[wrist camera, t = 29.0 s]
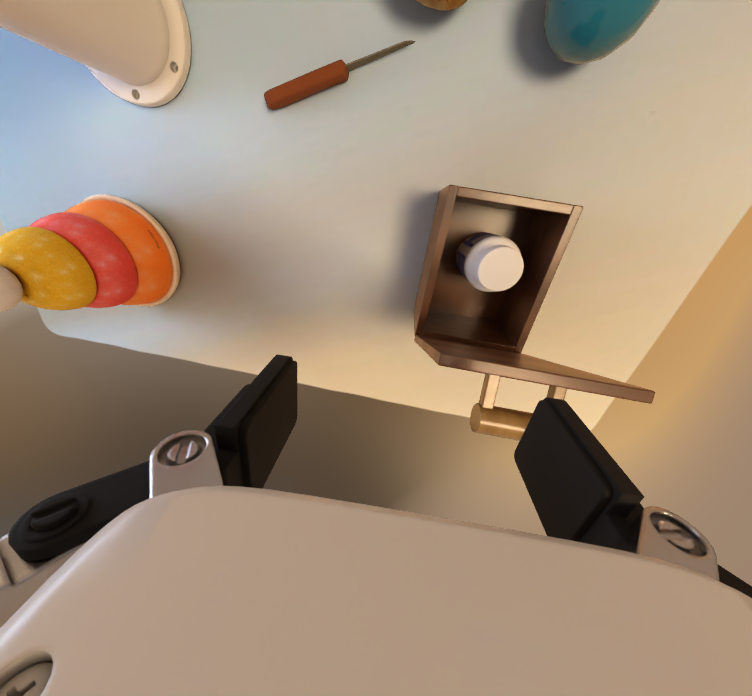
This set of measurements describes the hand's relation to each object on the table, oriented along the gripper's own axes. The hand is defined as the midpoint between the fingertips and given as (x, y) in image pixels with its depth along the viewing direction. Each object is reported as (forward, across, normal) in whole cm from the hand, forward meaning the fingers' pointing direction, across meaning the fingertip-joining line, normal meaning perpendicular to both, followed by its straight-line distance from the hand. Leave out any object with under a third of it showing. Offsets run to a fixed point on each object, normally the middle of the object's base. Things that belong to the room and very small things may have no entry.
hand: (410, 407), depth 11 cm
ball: (+29, -11, -24) cm, 39 cm away
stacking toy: (+29, +37, +4) cm, 47 cm away
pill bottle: (+28, -8, -3) cm, 29 cm away
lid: (+12, -7, +3) cm, 15 cm away
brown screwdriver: (+29, +10, -18) cm, 36 cm away
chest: (+28, -8, -2) cm, 30 cm away
